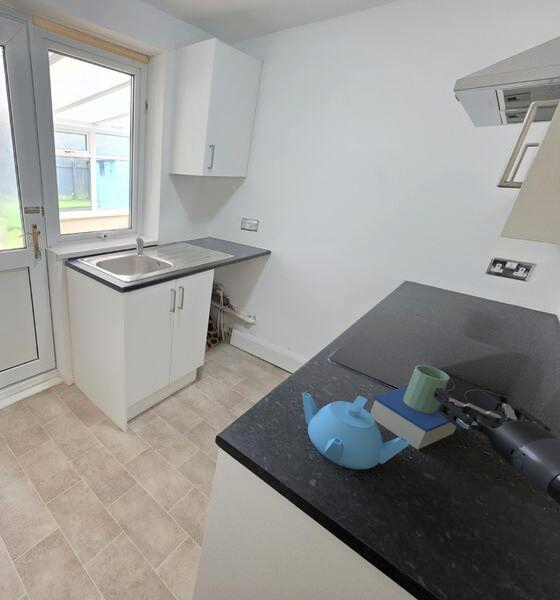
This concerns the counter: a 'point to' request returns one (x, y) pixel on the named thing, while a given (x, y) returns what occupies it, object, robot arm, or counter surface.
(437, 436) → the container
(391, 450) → the teapot
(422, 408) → the utensil cup
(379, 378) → the counter surface
